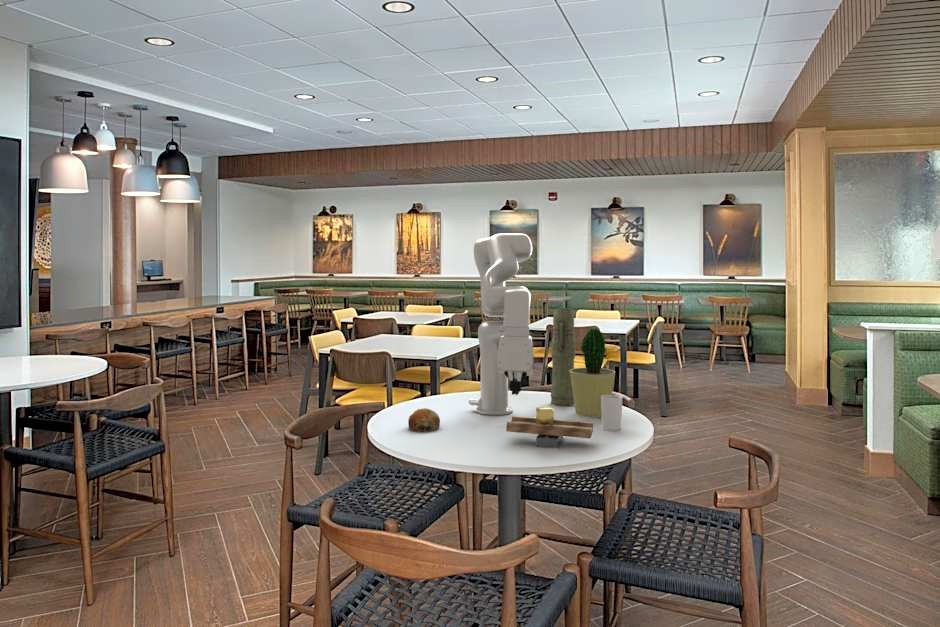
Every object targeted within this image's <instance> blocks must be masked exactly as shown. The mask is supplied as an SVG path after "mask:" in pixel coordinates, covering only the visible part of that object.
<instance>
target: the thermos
mask: <svg viewBox="0 0 940 627" xmlns="http://www.w3.org/2000/svg"><path fill="white" fill-rule="evenodd" d="M552 320H553V321H552V324H553V325H552V330H553V334H552V338H551V341H550V342H551V343H550V344H551V346H550V347H551V348H550V349H551V350H550V352H551V354H550V355H551V358H552V361H551V364H552V366H551V367H552V369H551V370H552V375H551V376H552V381H551V383H552V384H551V387H550V397H551V398H550V400H551V401H550V404H552V405H554V406H559V405H569V406H573V405H572V404H574V397H573V390H572V382H571V375H570V370H571V369H575V357H576V344H577V343H576V339H575V333H574V330H575V316H574V311H573V309H571V308H570V307H569V308H568V307H559V308H558V307H557V308H556V309H555V310H554V313H553V317H552Z"/></svg>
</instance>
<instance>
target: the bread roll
mask: <svg viewBox="0 0 940 627" xmlns="http://www.w3.org/2000/svg"><path fill="white" fill-rule="evenodd" d="M440 423H441V419H440V416H439V414H438V413H437V412H436V411H434V410H432V409H430V408H426V407H423V408H418V409H417V410H415V411H414V412H413V413H412V414H410V415H409V417H408V424H407V425H408V429H409V430H410V431H413V432H420V433H421V432H426V433H427V432H431V431H432V432H433V431H436V430H438V429H439V428H440V425H441V424H440Z"/></svg>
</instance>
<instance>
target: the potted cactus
mask: <svg viewBox="0 0 940 627" xmlns="http://www.w3.org/2000/svg"><path fill="white" fill-rule="evenodd" d="M584 333H585V334H584V336H583V338H582V341H581V342H580V348H579V350H580V351H581V353H582V354H581V356H582V358H583V359H582V362H583V364H584V366H585V367H577V368H574V369H571V370H570V375H571V382H572V390H573V397H574V405H573V406H574V411H575V415H577V416H581V417H585V418H602V412H601V396H602V395H613V390H614V384H615V377H616V371H615V370H613V369H611V368H609V369H608V368H603V365H604V360H605V359H606V358H607V357H605V354H608V353H607V349H608V347H607V346H606V336H604V335H605V334H604V332H603V331H601V330H600V329H598V328H592V327H590V329H588V330H586V331H585V332H584Z"/></svg>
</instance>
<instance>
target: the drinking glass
mask: <svg viewBox="0 0 940 627" xmlns="http://www.w3.org/2000/svg"><path fill="white" fill-rule="evenodd" d="M622 411H623V396H622V395H618V394H612V395H602V396H601V412H602V417H601V429H603V430H605V431H620V430H621V429H622V415H623V414H622V413H623V412H622Z"/></svg>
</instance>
